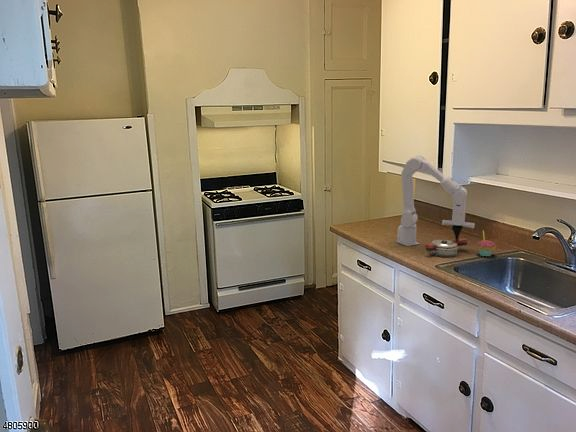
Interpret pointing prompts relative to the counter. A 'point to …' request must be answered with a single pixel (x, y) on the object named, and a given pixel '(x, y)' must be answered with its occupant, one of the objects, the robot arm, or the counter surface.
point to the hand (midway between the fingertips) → (456, 240)
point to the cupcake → (485, 247)
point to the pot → (445, 251)
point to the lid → (446, 243)
